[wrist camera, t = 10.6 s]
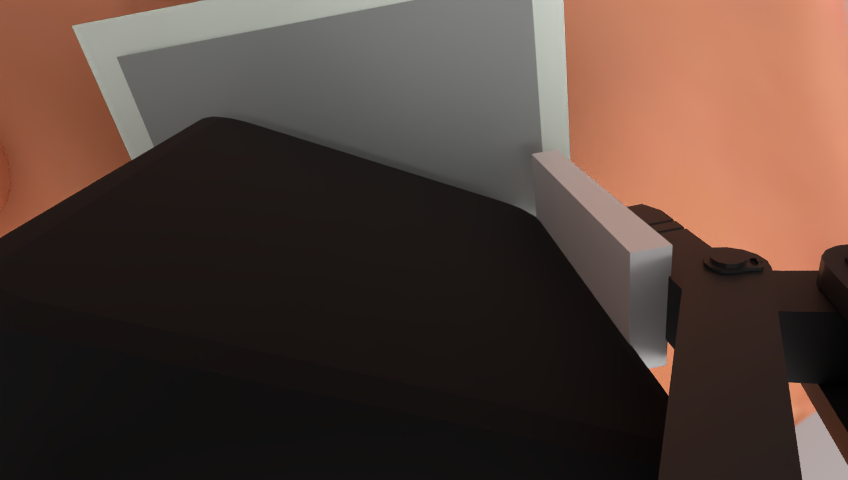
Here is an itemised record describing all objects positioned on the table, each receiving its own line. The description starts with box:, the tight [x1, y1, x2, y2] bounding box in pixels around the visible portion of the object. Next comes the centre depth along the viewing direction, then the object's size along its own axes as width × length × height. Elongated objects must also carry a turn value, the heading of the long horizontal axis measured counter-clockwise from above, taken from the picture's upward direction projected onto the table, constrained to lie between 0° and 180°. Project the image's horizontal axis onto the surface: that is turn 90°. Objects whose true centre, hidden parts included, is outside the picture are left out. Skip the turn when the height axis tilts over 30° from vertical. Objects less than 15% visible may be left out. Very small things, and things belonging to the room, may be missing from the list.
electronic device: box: [0, 116, 669, 480], centre depth 11 cm, size 4×10×10 cm, turn 71°
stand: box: [72, 0, 570, 218], centre depth 18 cm, size 14×14×3 cm
